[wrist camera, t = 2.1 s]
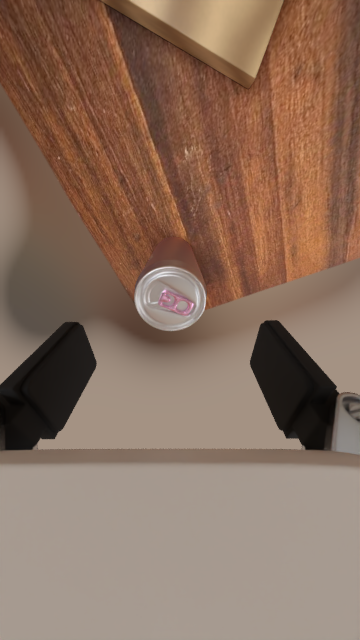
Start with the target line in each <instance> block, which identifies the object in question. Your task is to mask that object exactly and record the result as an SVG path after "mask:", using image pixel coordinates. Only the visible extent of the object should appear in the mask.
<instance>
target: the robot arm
mask: <svg viewBox="0 0 360 640" xmlns="http://www.w3.org/2000/svg"><path fill="white" fill-rule="evenodd" d="M250 365H251V368H252V370H253V373H254V375H255V377H256V379H257V382H258V384H259V386H260V388H261V390H262V393H263V394H264V397H265V399H266V402H267V404H268V406H269V408H270V410H271V413H272V415H273V417H274V419H275V422H276V424H277V426H278V428H279V429H280V430H283V432H284V434H285V436H286V438H299V440H300V442H301V444H302V449H301V450H291V449H289V450H287V449H62V450H61V449H55V450H54V449H50V450H38V446H37V443H38V441H39V440H40V438H42V439H55V437H56V435H57V433H58V432H59V431H61V430H62V429H63V427H64V426H65V424H66V422H67V420H68V418H69V416H70V414H71V413H72V411H73V409H74V407H75V405H76V403H77V401H78V400H79V398H80V396H81V394H82V392H83V390H84V389H85V387H86V385H87V383H88V381H89V379H90V377H91V376H92V374H93V372H94V370H95V368H96V359H95V357H94V354H93V351H92V349H91V346H90V343H89V341H88V338H87V336H86V333H85V330H84V328H83V326H82V325H80V324H79V323H78V322H65V323H64V324H63V325H62V326H61V327H59V328H58V329H57V330H56V332H54V333H53V334H52V335H51V336H50V337H49V338H48V339H47V340H46V341H45V342H44V343H43V344H42V345H41V346H40V347H39V348H38V349H37V350H36V351H35V352H34V353H33V354H32V355H31V356H30V357H29V358H27V359H26V360H25V361H24V362H23V363H22V364H21V365H20V366H19V367H18V368H17V369H16V370H15V371H14V372H13V373H12V374H11V375H10V376H9V377H8V378H7V379H6V380H5V381H4V382H3V383H2V384H1V385H0V640H360V395H358V394H355V393H349V392H345V393H341V394H339V393H338V392H337V390H336V387H337V386H336V385H335V384H334V383H333V382H332V381H331V380H330V379H329V377H328V376H327V375H326V374H325V373H324V372H323V371H322V369H321V368H320V367H319V366H318V365H317V364H316V363H315V362H314V361H313V359H312V358H311V357H310V356H309V355H308V354H307V353H306V351H305V350H304V349H303V348H302V347H301V346H300V345H299V343H298V342H297V341H296V340H295V339H294V338H293V337H292V336H291V334H290V333H289V332H288V331H287V330H286V329H285V328H284V327H283V326H282V324H281V323H280V322H279V321H277V320H275V321H265V322H264V323H262V324H261V325H260V328H259V332H258V336H257V339H256V342H255V346H254V350H253V353H252V357H251V360H250Z"/></svg>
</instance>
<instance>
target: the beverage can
mask: <svg viewBox="0 0 360 640" xmlns="http://www.w3.org/2000/svg"><path fill="white" fill-rule="evenodd" d="M206 296H207V291H206V285H205V282H204V279H203V277H202V274H201V271H200V269H199V266H198V263H197V261H196V258H195V255H194V253H193V250H192V248H191V246H190V245H189V243H188V242H186V241H185V240H184V239H182V238H179V237H168V238H165V239H163V240H162V241H161V242H159V244H158V245H157V246H156V248H155V250H154V251H153V253H152V255H151V257H150V258H149V260H148V262H147V263H146V265H145V267H144V269H143V270H142V272H141V274H140V275H139V277H138V279H137V282H136V285H135V296H134V299H135V306H136V308H137V311H138V313H139V315H140V316H141V317H142V318H143V319H144V321H146V322H147V323H148V324H150V325H151V326H153V327H155V328H157V329H160V330H164V331H178V330H182V329H185V328H187V327H189V326H191V325H192V324H194V323H195V322H196V321H197V320H198V319H199V318H200V316H201V315H202V313H203V311H204V309H205V305H206Z"/></svg>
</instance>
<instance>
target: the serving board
mask: <svg viewBox="0 0 360 640" xmlns="http://www.w3.org/2000/svg"><path fill="white" fill-rule="evenodd" d="M100 1H102V2H104V3H105V4H107V5H109V6H110V7H112V8H114V9H115V10H117V11H119V12H120V13H122V14H124V15H125V16H127V17H129V18H130V19H132V20H134V21H135V22H137V23H139V24H140V25H142V26H144V27H145V28H147V29H149V30H150V31H152V32H154V33H155V34H157V35H159V36H160V37H162V38H164V39H165V40H167V41H169V42H170V43H172V44H174V45H175V46H177V47H179V48H180V49H182V50H184V51H185V52H187V53H189V54H190V55H192V56H194V57H195V58H197V59H199V60H200V61H202V62H204V63H205V64H207V65H209V66H210V67H212V68H214V69H215V70H217V71H219V72H220V73H222V74H224V75H226V76H227V77H229V78H231V79H232V80H234V81H236V82H237V83H239V84H241V85H242V86H244V87H246V88H247V89H249V88H250V87H251V85H252V83H253V81H254V80H255V78H256V75H257V73H258V70H259V67H260V64H261V62H262V59H263V56H264V54H265V51H266V48H267V45H268V43H269V40H270V37H271V35H272V32H273V29H274V26H275V24H276V21H277V18H278V15H279V13H280V10H281V7H282V5H283V2H284V0H100Z"/></svg>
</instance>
